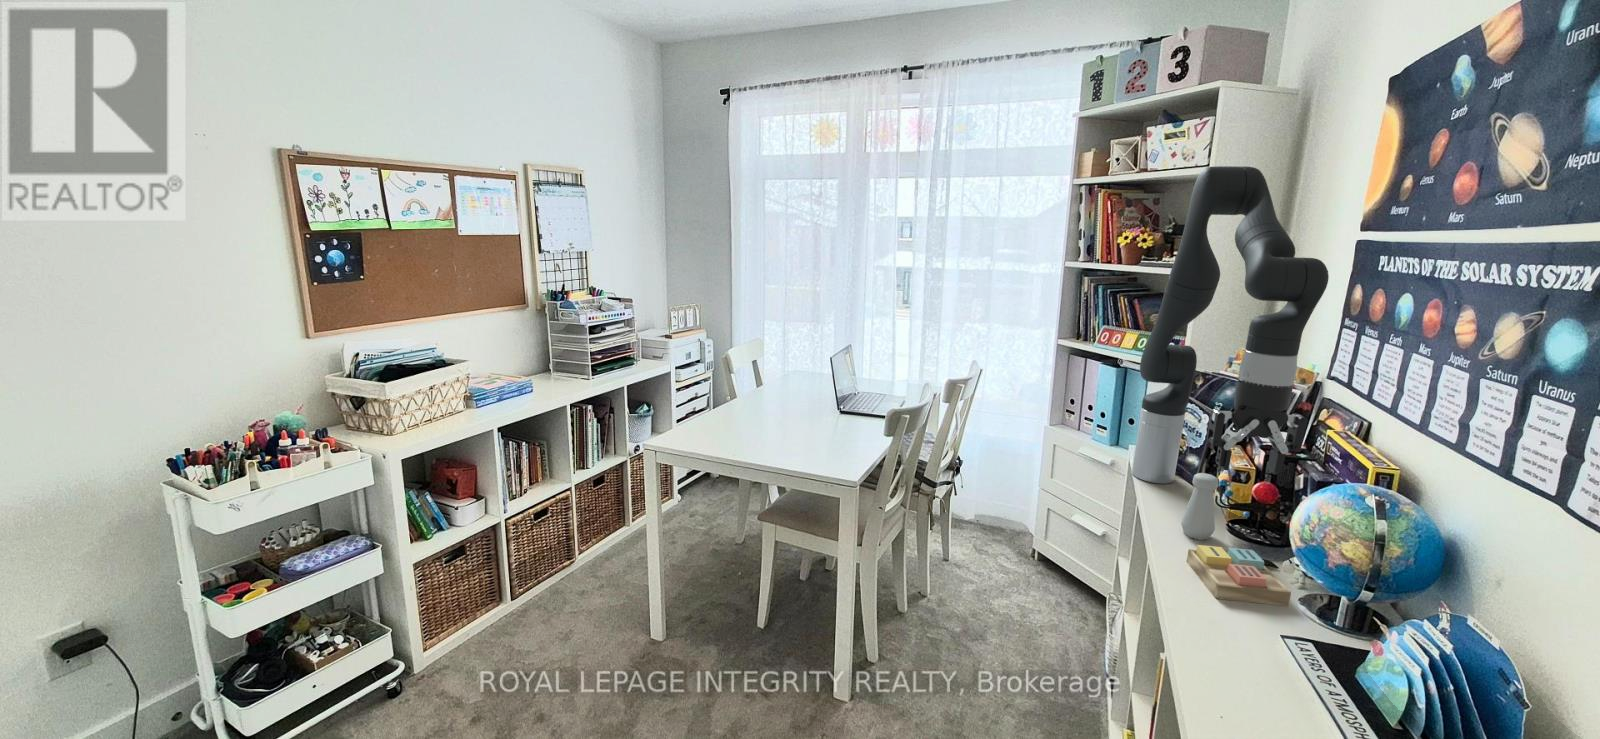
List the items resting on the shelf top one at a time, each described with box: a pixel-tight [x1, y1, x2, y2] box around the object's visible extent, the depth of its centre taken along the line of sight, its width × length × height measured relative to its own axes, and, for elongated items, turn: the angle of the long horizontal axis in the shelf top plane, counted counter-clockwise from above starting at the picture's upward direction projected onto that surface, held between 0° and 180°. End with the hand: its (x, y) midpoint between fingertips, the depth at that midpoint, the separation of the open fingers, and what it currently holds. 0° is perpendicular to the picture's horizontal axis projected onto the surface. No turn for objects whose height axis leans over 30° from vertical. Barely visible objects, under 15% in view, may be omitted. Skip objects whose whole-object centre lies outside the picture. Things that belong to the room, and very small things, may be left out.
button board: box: [1186, 548, 1292, 607], centre depth 110 cm, size 12×11×2 cm
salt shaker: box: [1180, 472, 1219, 541], centre depth 125 cm, size 6×6×13 cm
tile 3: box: [1227, 564, 1267, 588], centre depth 107 cm, size 4×4×2 cm
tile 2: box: [1226, 547, 1265, 570], centre depth 112 cm, size 4×4×2 cm
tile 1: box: [1195, 544, 1232, 567], centre depth 113 cm, size 4×4×2 cm
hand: (1247, 470), depth 108 cm, fingers open, 7 cm apart
